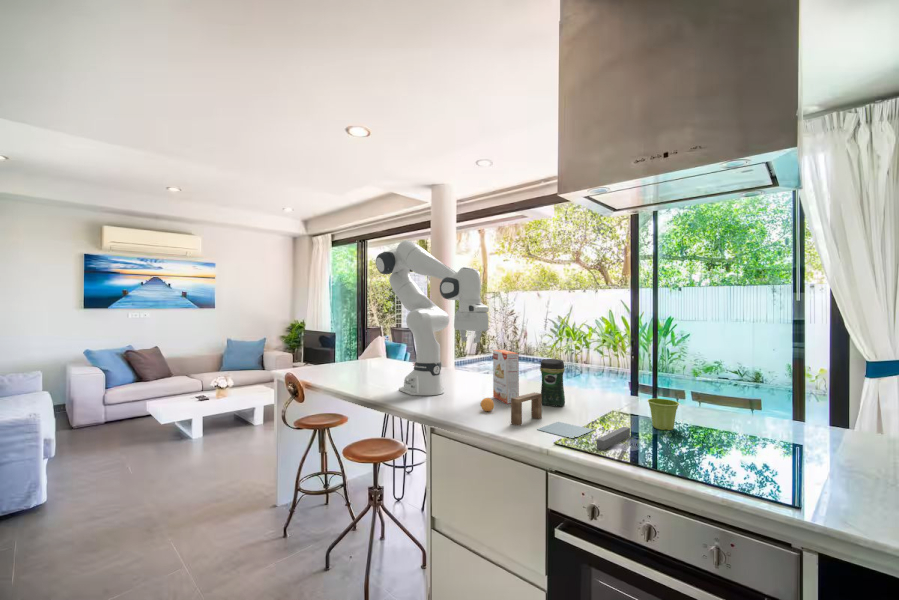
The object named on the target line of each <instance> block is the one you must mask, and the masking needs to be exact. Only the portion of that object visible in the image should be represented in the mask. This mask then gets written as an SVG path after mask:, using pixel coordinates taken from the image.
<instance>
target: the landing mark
mask: <svg viewBox="0 0 899 600" xmlns="http://www.w3.org/2000/svg"><path fill="white" fill-rule="evenodd" d="M536 430H537V431H539V432H543V433H548V434H552V435H556V436H559V437H562V438H567V437H569V438H568V439H571V438H574V436H575V437H578V438H579V436H580V437H582V436H584V434H585V435H586V433H587V434H589V433H591V432H594V431H595V429H592V428H589V427H588V428H587V427H583V426H579V425H574V424H570V423H567V422H566V423H565V422H561V421H556V422H553V423H551V424H548V425H545V426H542V427H539V428H536ZM581 435H582V436H581Z"/></svg>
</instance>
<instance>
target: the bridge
mask: <svg viewBox="0 0 899 600" xmlns="http://www.w3.org/2000/svg"><path fill="white" fill-rule="evenodd" d="M528 401H531V402H530V403H531V407H530V408H531V415H530V416H531V418H532V417H533V418H534V419H537V420H539V419H542V417H543V416H542V411H543V409H542V408H543V407H542V406H543V404H542V394H541V392H534V391H533V392H531V393H527V394H522V395H519V396H518V397H514V398H511V404H510V424H511V423H512V424H511V425H514V424H515V425H514V426H518V425H519V426H521V424H523V409H522V408H523V402H528ZM533 418H532V419H533Z"/></svg>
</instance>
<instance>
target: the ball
mask: <svg viewBox="0 0 899 600" xmlns="http://www.w3.org/2000/svg"><path fill="white" fill-rule="evenodd" d="M480 407H481V409H482V410H483V411H484V412H487V411H488V412H491V411H492V410H493V409H494V408H495V403H494V400H493V399H492V398H489V397H486V398H483V399H482V400H481V402H480Z"/></svg>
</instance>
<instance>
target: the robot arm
mask: <svg viewBox="0 0 899 600" xmlns="http://www.w3.org/2000/svg"><path fill="white" fill-rule="evenodd" d="M375 266H376V269H377V271H378V272H379V273H380V274H382V275H389V279H388V282H389V284H390V287H391V289H392V291H393V293H394V295H396V298H397V299H399V301H400V303H401V304H402V306H403V307H404V308H405V309H406V310H407V311H409V312H408V314H407V316H406V318H405V319H406V320H405V321H406V326H407V329H409V330H410V331H411V333H412V335H413V337H414V341H415V351H416V352H415V353H416V356H415V358H416V361H415V362H413V363H412V366H413V370H412V371H411V372H410V373H408V374H407V375H406V376H405V377H404V379H403V380H404V381H403V386H401V387H398V391H400V392H403V393H405V394H408V395H410V396H436V395H437V396H438V395H442V394H443V393H444V390H445V389H444V387H443V376H442V372H441V370H442V362H441V344H440V342H438V341H437V339H436V334H435V332H441V331H442V330H444V329H446V328H447V327H448V325H449V323H450V316H449V314H448V313H447V311H445V310H444V309H442V308H440V307H439V306H438V305H436V303H434V302H433V301H432V300H431V299H430V298H429V297H427V295H426V294H425V293H424V292H423V291H422V289H421V288H420V287H419V286H418V284H417V283H416V282H415V280H414V279H413V278H412V277H411V273H413V272H414V273H415V274H418V275H421V276H425V277H426V276H427V277H433V278H437V279H439V280H441V282H440V284H439V293H440V296H441V297H442V298H444V300H449V301H458V308H457V310H456V312H455V314H454V320H453V321H454V323H453V327H454V330H456V331H459V334H460V338H461V339H460V340H461V342H467V341H468V337H467V336H466V333H467V331H470V332H474V334H475V337H474V338H473V342H474V343H476V344H480V341H481V336H482V332H487V331H488V329H489V314H488V312H489V306H487V305H486V304H484V303H483V302H482V297H481V291H482V283H481V282H482V281H481V273H480V271H479V270H478V269H477V268H473V267H461V268H459V270H458V271H457V272H456V271H455V270H454V269H452V268H451V267H449V266H447V265H446V264H444V263H443V262H442V261H440V260H439V259H437V258H436V257H435V256H433V255H432V254H431V253H430V252H429V251H427V250H426V249H424V248H423V247H422V246H421V245H419V244H417V243H415V242H413V241H412V240H408V239H407V240H402V241H400V243H399V244H398V245H397V247H396V248H394V249H390V250H388V251H383V252H381V253H379V254H377V256H376V259H375Z"/></svg>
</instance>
